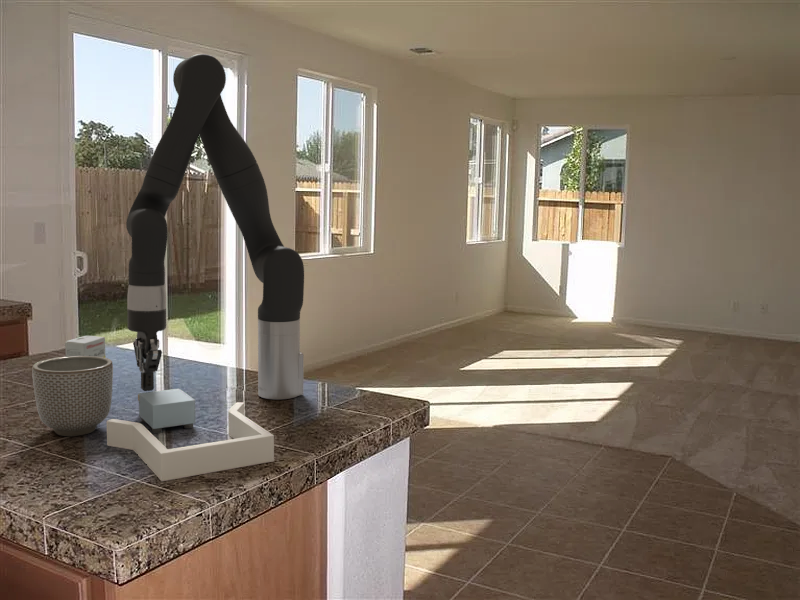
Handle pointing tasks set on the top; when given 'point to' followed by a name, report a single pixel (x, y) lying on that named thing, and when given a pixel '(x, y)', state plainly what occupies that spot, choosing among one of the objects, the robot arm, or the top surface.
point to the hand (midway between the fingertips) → (147, 389)
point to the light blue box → (166, 409)
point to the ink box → (86, 346)
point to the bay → (196, 447)
